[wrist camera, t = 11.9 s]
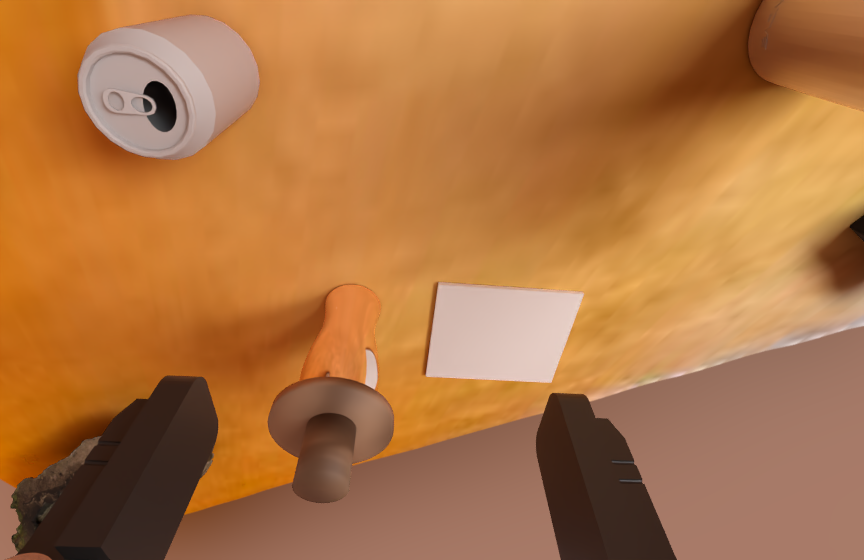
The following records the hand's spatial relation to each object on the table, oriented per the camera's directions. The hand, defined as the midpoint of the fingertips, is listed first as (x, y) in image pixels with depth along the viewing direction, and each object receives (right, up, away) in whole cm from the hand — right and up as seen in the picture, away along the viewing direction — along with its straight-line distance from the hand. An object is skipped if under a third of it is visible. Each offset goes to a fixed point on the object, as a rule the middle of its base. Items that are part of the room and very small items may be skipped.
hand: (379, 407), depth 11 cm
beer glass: (-7, 0, +39) cm, 39 cm away
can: (-16, +20, +25) cm, 35 cm away
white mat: (+9, -3, +42) cm, 43 cm away
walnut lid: (-7, -8, +26) cm, 28 cm away
